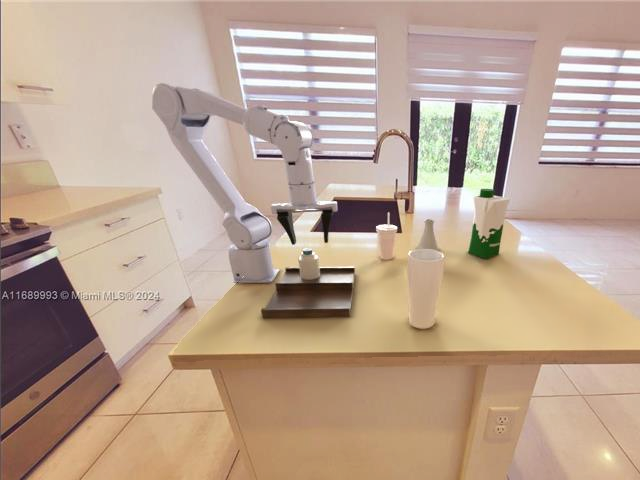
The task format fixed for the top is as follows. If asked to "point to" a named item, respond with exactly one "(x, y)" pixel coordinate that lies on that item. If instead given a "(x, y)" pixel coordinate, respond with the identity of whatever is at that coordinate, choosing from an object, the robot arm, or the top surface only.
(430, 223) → the flask
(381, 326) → the top surface
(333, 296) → the rack
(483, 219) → the milk carton
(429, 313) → the drinking glass
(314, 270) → the bottle
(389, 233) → the smoothie
